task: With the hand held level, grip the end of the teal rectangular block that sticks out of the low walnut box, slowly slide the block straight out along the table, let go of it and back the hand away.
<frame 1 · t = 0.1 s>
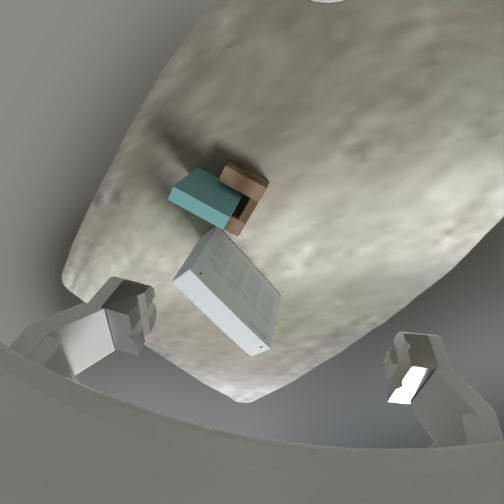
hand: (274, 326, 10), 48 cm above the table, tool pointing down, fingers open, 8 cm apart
teal rectangular block: (218, 184, 59), on the table
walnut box: (218, 184, 59), on the table
skincare box: (241, 267, 67), on the table
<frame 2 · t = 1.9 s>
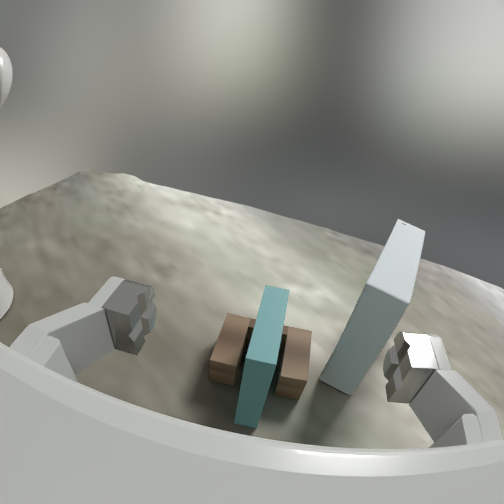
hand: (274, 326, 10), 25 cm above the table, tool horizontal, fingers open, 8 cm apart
teal rectangular block: (253, 390, 35), on the table
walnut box: (253, 390, 35), on the table
skincare box: (360, 341, 44), on the table
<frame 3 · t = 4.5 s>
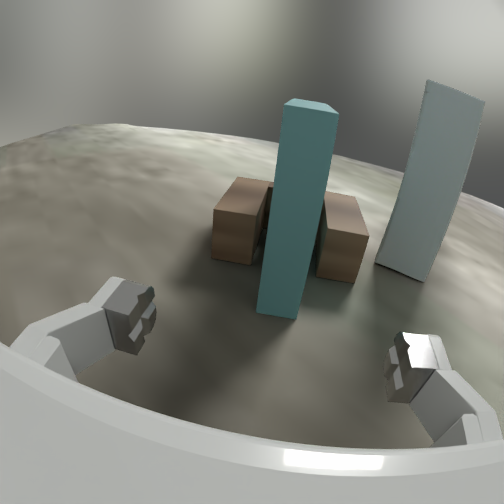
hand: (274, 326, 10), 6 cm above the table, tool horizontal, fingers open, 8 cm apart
teal rectangular block: (283, 271, 23), on the table
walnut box: (283, 270, 23), on the table
skincare box: (411, 235, 33), on the table
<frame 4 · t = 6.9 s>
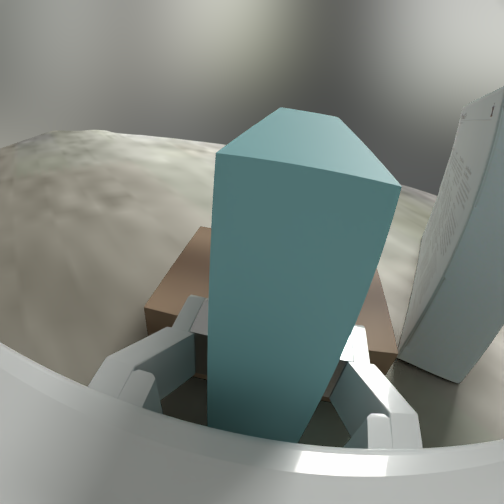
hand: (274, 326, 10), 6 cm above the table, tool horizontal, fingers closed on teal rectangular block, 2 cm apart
teal rectangular block: (259, 391, 14), on the table, touching gripper
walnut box: (259, 391, 14), on the table
skincare box: (439, 292, 23), on the table
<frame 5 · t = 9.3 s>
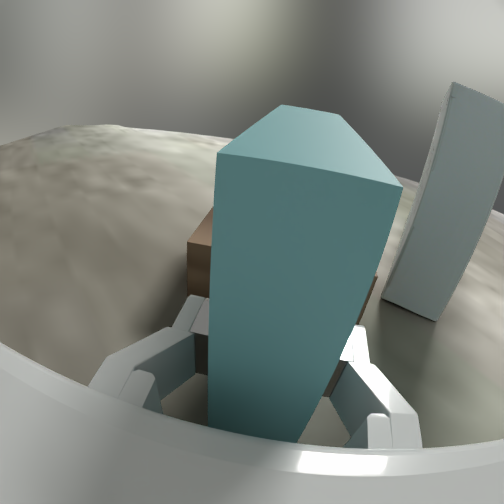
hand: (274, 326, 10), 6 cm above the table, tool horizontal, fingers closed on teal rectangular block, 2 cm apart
teal rectangular block: (259, 388, 14), on the table, touching gripper
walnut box: (272, 313, 19), on the table
skincare box: (421, 258, 28), on the table
when the fingers open (6 cm above the table, at t = 11.4 s): teal rectangular block stays where it is, on the table.
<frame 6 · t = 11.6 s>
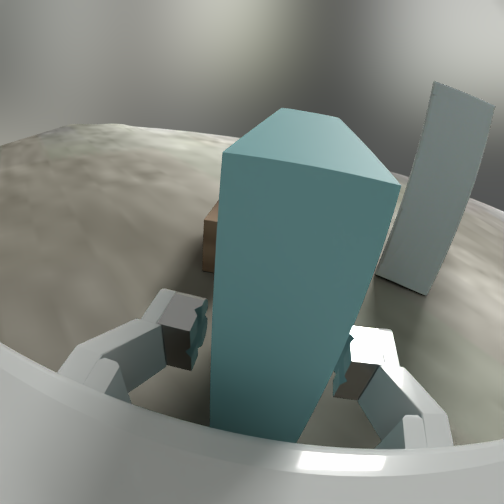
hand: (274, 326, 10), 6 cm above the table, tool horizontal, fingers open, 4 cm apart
teal rectangular block: (259, 388, 14), on the table
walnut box: (278, 285, 22), on the table
skincare box: (413, 243, 31), on the table
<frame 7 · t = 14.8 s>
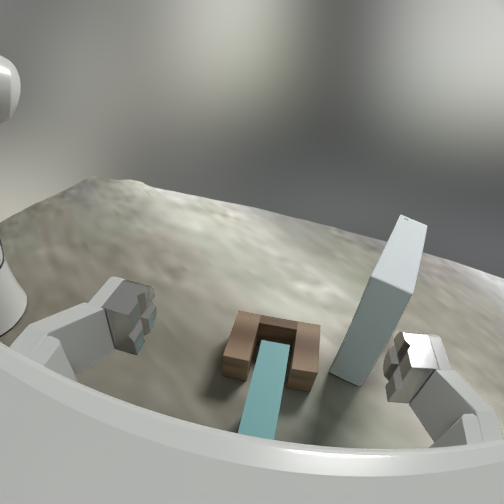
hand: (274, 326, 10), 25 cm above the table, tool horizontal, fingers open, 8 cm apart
teal rectangular block: (252, 446, 29), on the table
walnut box: (266, 384, 36), on the table
skincare box: (368, 334, 45), on the table
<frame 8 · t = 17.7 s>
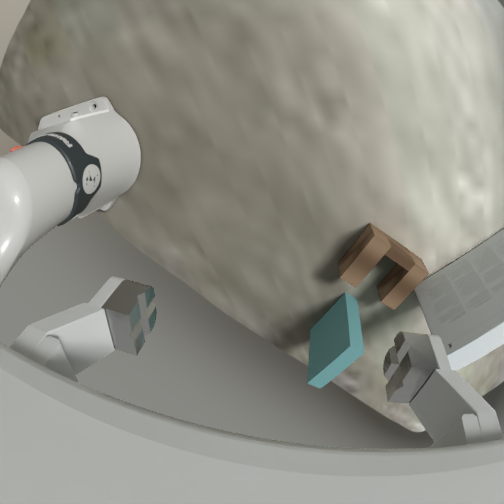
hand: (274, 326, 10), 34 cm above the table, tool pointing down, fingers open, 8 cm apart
teal rectangular block: (332, 315, 52), on the table
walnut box: (365, 279, 47), on the table
skincare box: (468, 265, 43), on the table
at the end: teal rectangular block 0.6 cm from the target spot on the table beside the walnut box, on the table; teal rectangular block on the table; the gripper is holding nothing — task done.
